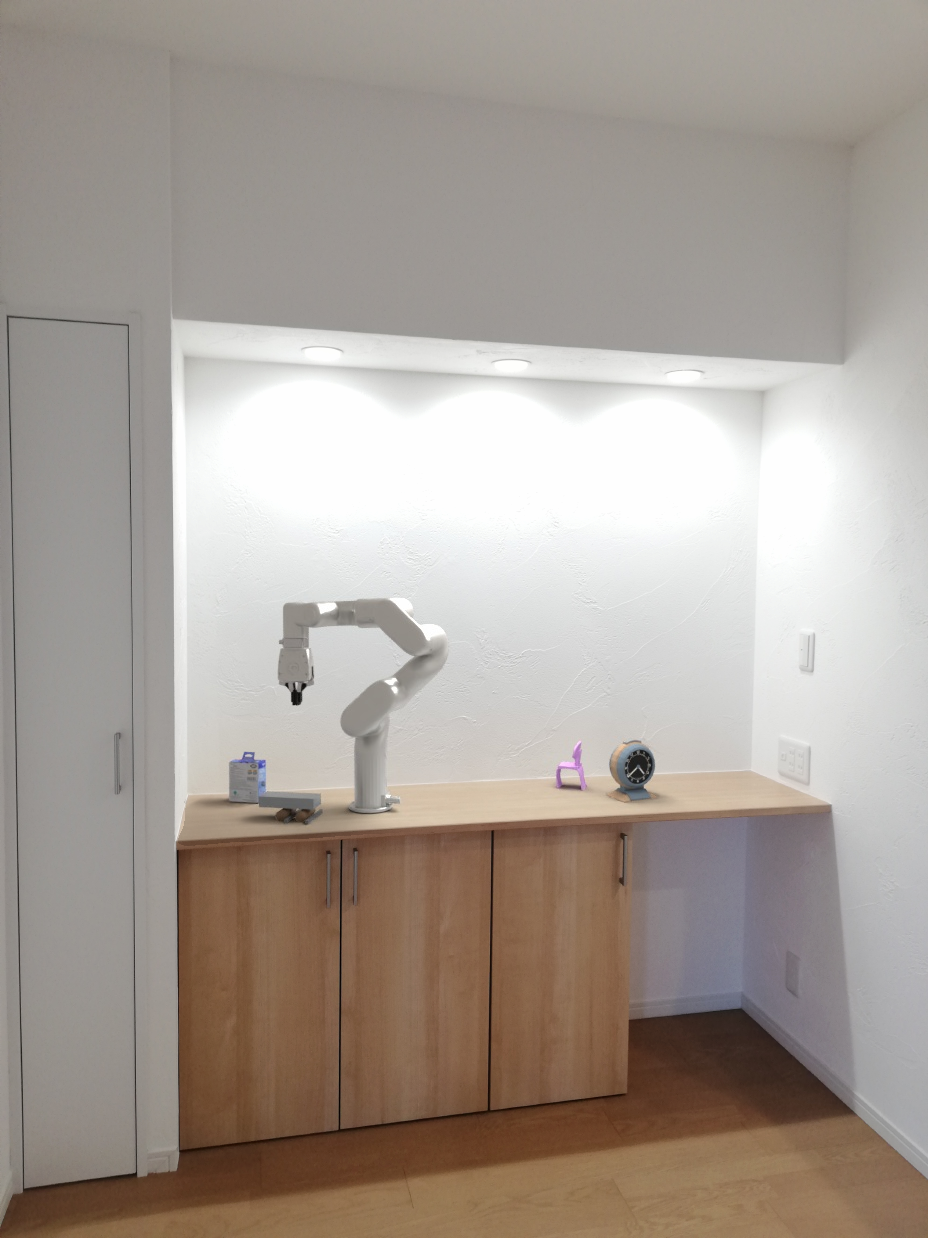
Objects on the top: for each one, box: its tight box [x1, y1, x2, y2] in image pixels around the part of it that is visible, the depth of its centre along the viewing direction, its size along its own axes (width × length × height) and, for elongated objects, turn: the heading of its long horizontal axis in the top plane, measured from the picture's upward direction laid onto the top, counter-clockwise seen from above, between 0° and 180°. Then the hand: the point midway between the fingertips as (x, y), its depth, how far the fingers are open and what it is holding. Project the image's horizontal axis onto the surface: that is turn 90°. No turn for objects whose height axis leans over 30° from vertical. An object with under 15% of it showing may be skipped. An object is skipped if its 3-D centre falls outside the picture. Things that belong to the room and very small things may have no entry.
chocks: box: [283, 808, 324, 825], centre depth 246 cm, size 7×12×1 cm, turn 170°
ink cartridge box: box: [228, 751, 267, 804], centre depth 265 cm, size 10×6×14 cm, turn 78°
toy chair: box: [555, 740, 587, 791], centre depth 282 cm, size 8×9×15 cm
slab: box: [258, 790, 322, 810], centre depth 247 cm, size 16×6×3 cm, turn 80°
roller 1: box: [275, 808, 297, 822], centre depth 247 cm, size 3×8×3 cm, turn 170°
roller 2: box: [294, 808, 316, 823], centre depth 246 cm, size 8×3×3 cm, turn 170°
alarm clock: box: [605, 738, 659, 803], centre depth 269 cm, size 14×10×18 cm
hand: (296, 704), depth 263 cm, fingers closed
